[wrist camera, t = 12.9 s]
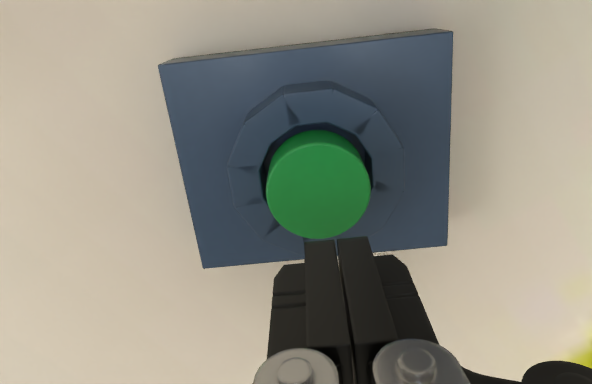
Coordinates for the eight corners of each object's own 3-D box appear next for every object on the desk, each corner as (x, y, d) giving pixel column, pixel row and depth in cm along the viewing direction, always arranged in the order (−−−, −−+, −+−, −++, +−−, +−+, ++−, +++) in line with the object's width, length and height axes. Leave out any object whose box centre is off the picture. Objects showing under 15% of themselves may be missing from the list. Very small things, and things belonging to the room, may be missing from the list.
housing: (436, 28, 18) (472, 33, 14) (433, 223, 21) (462, 268, 18) (172, 58, 18) (141, 71, 15) (211, 245, 22) (194, 293, 18)
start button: (361, 124, 16) (368, 137, 14) (366, 213, 17) (373, 235, 16) (262, 134, 16) (258, 148, 14) (274, 222, 17) (272, 244, 16)
